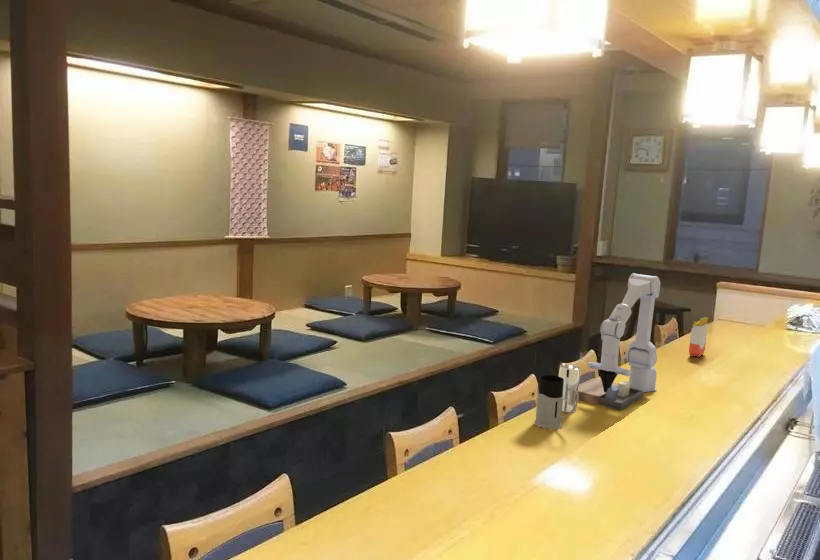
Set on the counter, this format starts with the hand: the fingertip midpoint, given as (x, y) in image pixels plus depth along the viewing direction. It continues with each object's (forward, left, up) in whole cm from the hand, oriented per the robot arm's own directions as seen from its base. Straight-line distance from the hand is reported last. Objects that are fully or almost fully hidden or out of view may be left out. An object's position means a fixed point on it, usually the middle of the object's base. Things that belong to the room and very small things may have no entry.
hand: (606, 391), depth 241 cm
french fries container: (-89, -40, -4) cm, 98 cm away
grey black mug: (+33, +14, -4) cm, 36 cm away
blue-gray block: (0, +1, 0) cm, 1 cm away
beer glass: (+19, +2, -4) cm, 19 cm away
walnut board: (-2, -8, -4) cm, 9 cm away
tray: (-7, +1, -4) cm, 8 cm away
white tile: (-9, -3, -1) cm, 10 cm away
